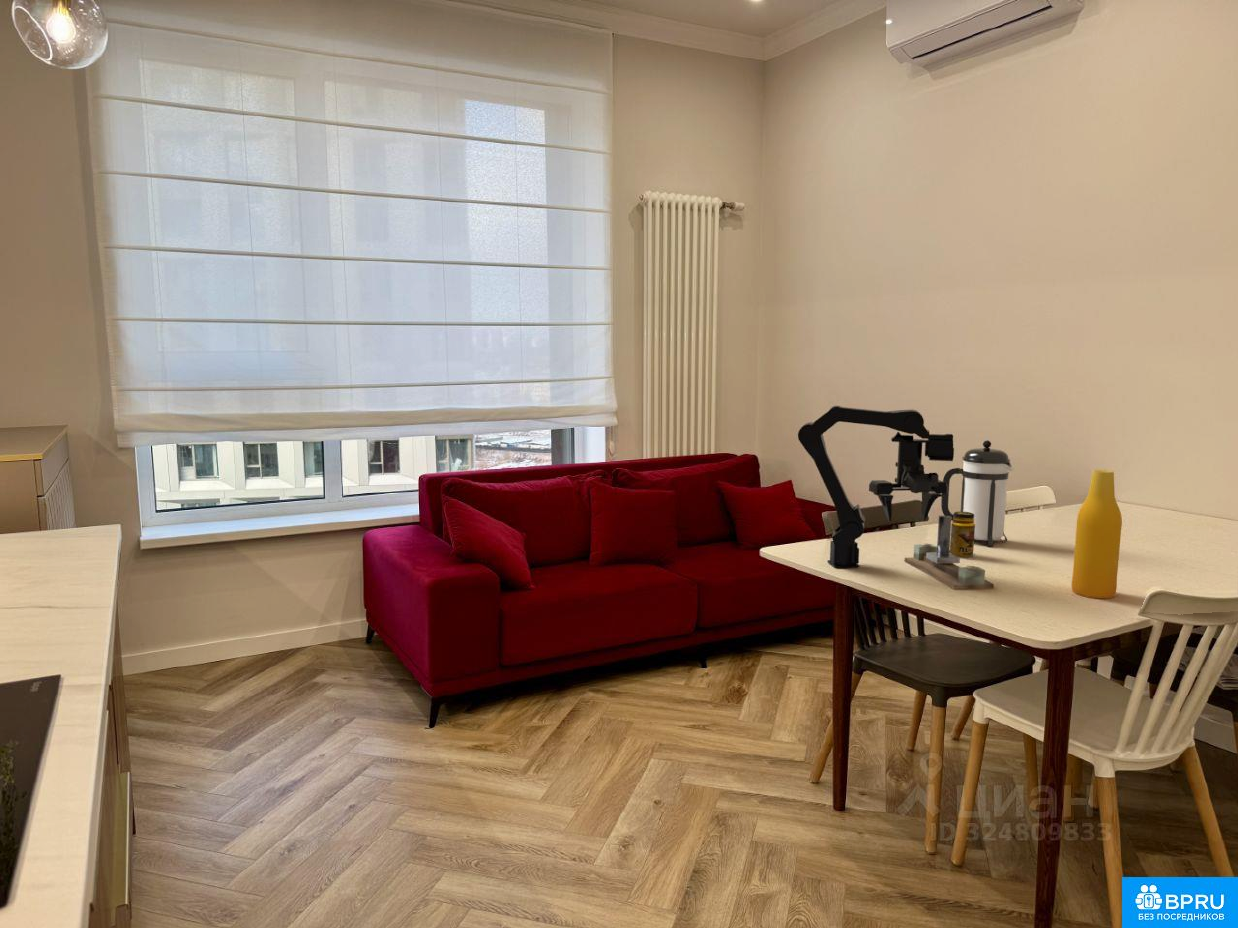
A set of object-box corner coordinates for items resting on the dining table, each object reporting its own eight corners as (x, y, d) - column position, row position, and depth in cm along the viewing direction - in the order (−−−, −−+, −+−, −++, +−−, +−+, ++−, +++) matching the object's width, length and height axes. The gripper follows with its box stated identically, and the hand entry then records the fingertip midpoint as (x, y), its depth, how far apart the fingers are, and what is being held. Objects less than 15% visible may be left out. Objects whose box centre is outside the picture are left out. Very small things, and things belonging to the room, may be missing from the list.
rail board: (954, 589, 208) (955, 569, 208) (904, 561, 235) (905, 543, 234) (993, 588, 210) (995, 568, 209) (939, 560, 236) (940, 542, 235)
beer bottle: (1101, 587, 210) (1111, 468, 206) (1124, 599, 201) (1135, 474, 197) (1063, 588, 210) (1072, 468, 206) (1084, 599, 201) (1095, 474, 197)
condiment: (972, 559, 237) (975, 516, 236) (939, 555, 241) (942, 513, 240) (976, 554, 244) (978, 511, 242) (944, 550, 248) (946, 508, 246)
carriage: (936, 563, 221) (939, 519, 219) (926, 557, 227) (928, 514, 225) (959, 563, 222) (962, 518, 220) (948, 557, 228) (950, 514, 226)
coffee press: (997, 535, 267) (1004, 437, 263) (1015, 547, 251) (1023, 443, 247) (938, 534, 269) (944, 436, 264) (953, 546, 253) (959, 442, 249)
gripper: (887, 464, 213) (884, 527, 215) (960, 463, 215) (956, 525, 218) (869, 458, 224) (866, 518, 226) (938, 457, 226) (935, 517, 229)
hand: (906, 520), depth 224 cm, fingers open, 9 cm apart
